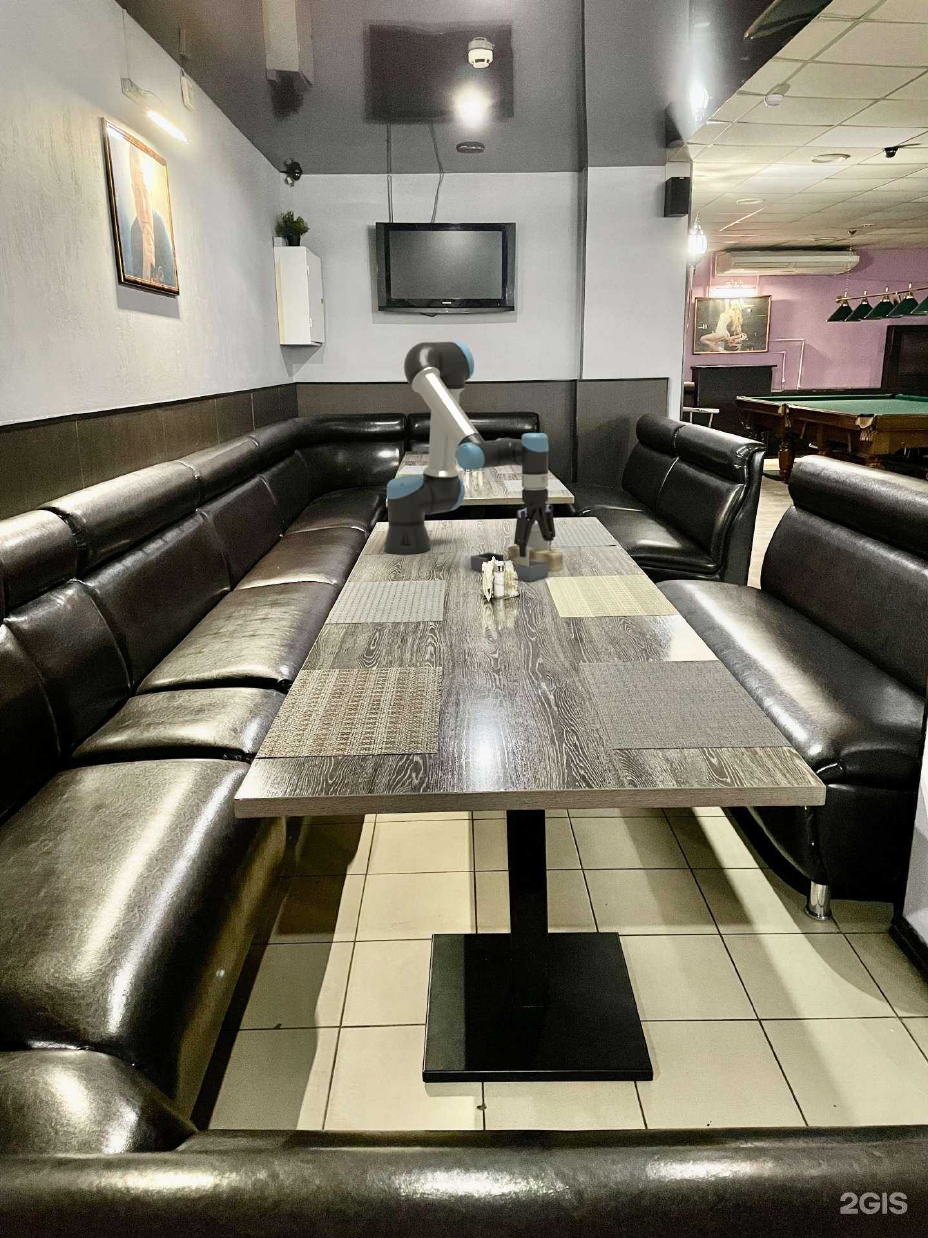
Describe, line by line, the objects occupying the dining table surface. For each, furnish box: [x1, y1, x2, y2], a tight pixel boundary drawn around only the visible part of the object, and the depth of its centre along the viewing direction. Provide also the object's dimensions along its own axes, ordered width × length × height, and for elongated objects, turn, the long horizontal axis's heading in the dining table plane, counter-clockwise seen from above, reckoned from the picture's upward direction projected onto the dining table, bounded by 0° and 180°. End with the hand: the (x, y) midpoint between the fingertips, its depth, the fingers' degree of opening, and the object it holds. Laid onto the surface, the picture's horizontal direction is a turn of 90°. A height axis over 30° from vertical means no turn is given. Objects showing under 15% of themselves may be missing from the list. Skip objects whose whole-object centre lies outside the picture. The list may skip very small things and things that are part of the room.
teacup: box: [523, 522, 553, 549], centre depth 279 cm, size 14×11×8 cm
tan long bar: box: [507, 544, 564, 572], centre depth 258 cm, size 18×4×5 cm, turn 44°
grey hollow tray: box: [513, 560, 549, 583], centre depth 243 cm, size 6×8×4 cm
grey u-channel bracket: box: [470, 551, 504, 573], centre depth 255 cm, size 6×8×4 cm
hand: (535, 564), depth 258 cm, fingers open, 8 cm apart
